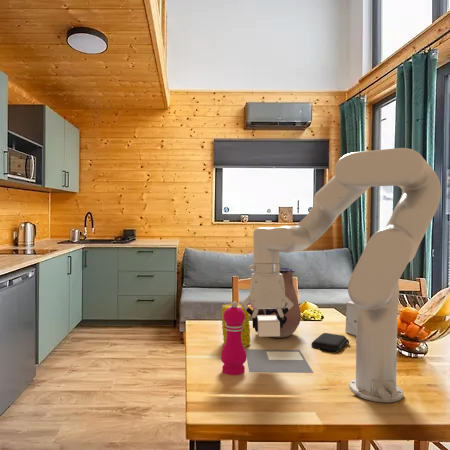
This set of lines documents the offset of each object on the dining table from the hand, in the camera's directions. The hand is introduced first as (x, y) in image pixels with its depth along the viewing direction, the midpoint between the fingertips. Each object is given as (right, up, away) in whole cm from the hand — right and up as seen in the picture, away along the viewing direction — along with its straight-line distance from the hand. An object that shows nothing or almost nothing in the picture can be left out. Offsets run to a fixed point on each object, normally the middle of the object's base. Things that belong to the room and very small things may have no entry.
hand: (267, 329), depth 114 cm
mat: (+3, -11, +4) cm, 12 cm away
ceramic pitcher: (+8, -11, +35) cm, 38 cm away
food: (-9, -11, +20) cm, 25 cm away
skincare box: (+38, -12, +37) cm, 54 cm away
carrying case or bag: (+24, -12, +21) cm, 34 cm away
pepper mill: (-10, -11, -5) cm, 16 cm away
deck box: (0, -1, 0) cm, 1 cm away
